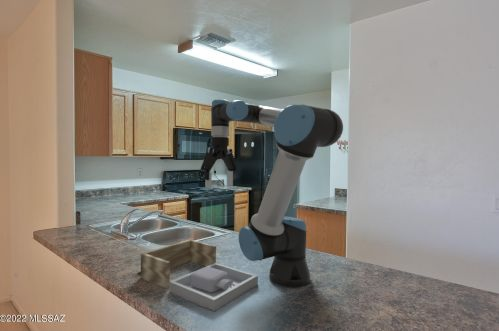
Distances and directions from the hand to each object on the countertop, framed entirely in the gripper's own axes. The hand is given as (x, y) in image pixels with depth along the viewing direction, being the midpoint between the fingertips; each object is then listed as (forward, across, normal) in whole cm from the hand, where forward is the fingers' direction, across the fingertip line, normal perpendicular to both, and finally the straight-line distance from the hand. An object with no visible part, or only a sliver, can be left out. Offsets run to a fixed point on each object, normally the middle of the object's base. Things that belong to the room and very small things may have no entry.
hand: (219, 187), depth 123 cm
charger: (+32, +19, +16) cm, 41 cm away
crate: (+33, +17, -5) cm, 37 cm away
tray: (+33, +19, +16) cm, 41 cm away
